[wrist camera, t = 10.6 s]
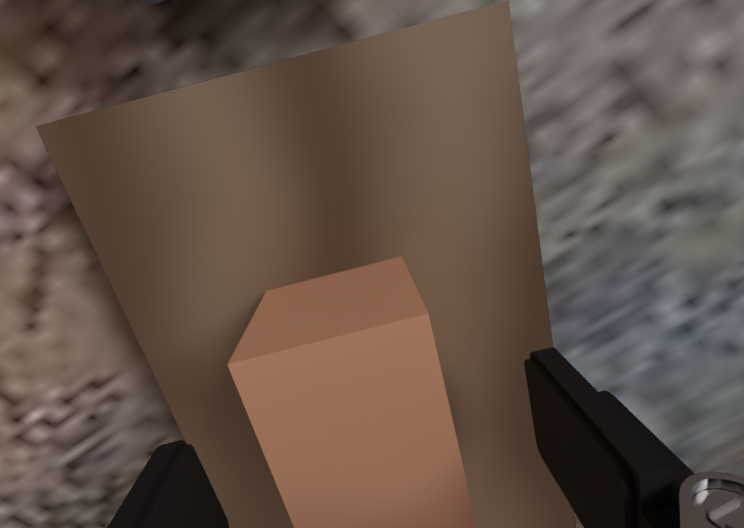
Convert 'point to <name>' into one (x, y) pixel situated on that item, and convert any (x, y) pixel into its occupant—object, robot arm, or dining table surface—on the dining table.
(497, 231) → the oak board
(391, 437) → the terracotta brick
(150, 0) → the slate brick
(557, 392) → the robot arm
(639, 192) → the dining table surface
